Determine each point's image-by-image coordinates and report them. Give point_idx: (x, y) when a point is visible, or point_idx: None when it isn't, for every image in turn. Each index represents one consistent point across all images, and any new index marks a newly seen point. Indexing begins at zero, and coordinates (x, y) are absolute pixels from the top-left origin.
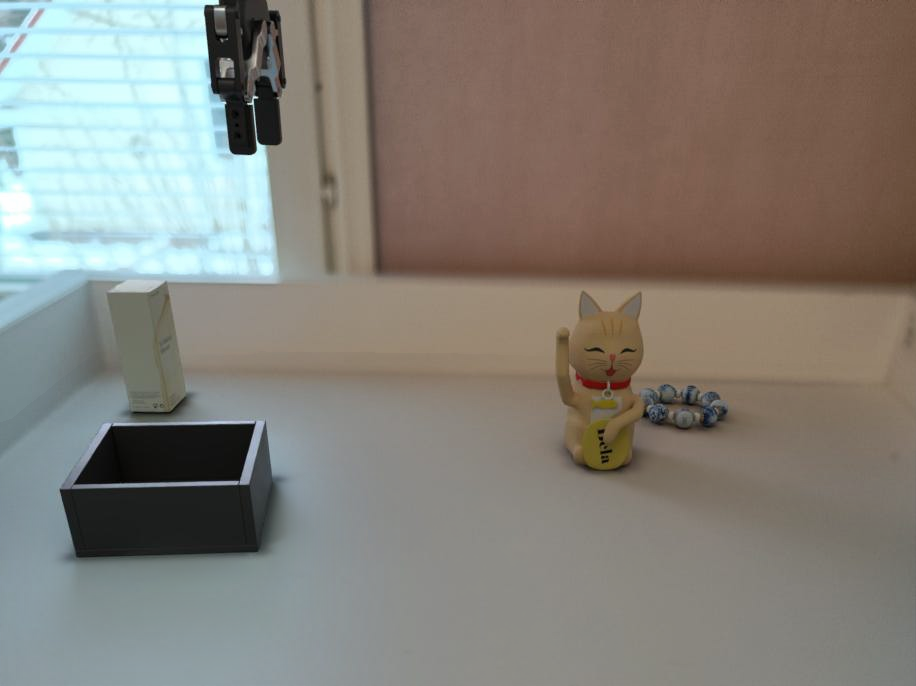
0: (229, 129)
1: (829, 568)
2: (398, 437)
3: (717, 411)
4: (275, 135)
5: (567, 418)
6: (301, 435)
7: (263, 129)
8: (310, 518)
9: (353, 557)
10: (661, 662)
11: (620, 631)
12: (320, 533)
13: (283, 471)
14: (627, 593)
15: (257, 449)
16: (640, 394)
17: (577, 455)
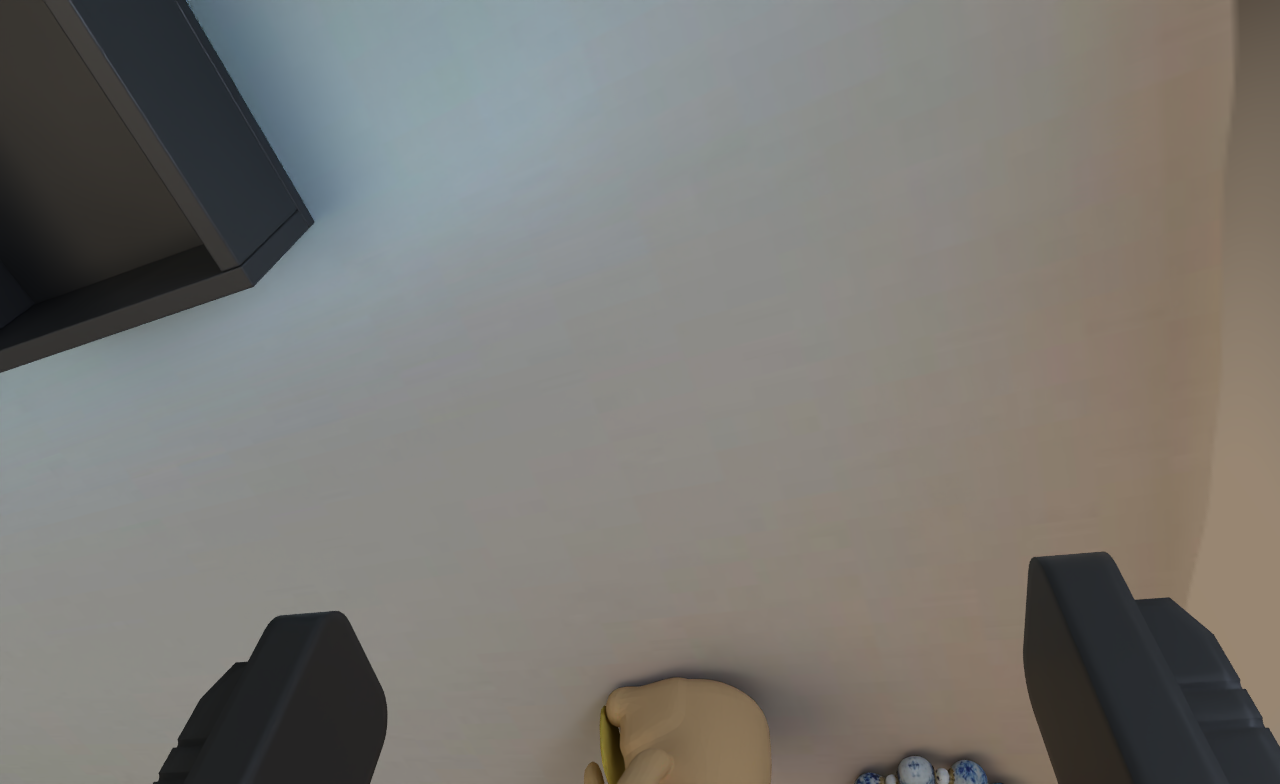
0: (165, 764)
1: None
2: (660, 395)
3: None
4: (1043, 712)
5: (668, 724)
6: (599, 178)
7: (1063, 679)
8: (204, 355)
9: (125, 458)
10: (123, 769)
11: (156, 740)
12: (164, 389)
13: (372, 224)
14: None
15: (96, 338)
16: (963, 777)
17: (607, 704)
